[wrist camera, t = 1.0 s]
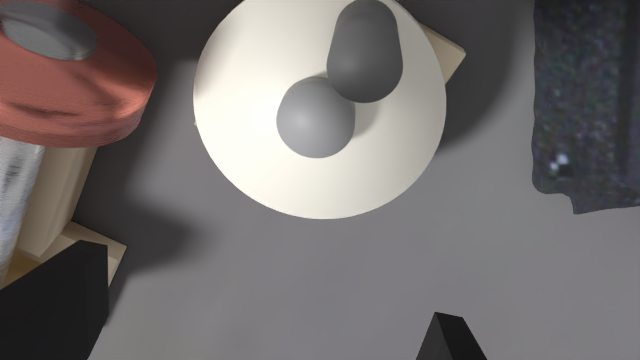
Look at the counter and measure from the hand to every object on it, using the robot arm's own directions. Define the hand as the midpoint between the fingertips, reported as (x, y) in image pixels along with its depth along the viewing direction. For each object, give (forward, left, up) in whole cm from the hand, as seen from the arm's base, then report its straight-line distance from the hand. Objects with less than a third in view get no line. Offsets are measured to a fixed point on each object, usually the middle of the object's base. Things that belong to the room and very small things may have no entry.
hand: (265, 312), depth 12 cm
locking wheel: (0, -2, -8) cm, 8 cm away
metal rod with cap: (+8, +7, -9) cm, 14 cm away
